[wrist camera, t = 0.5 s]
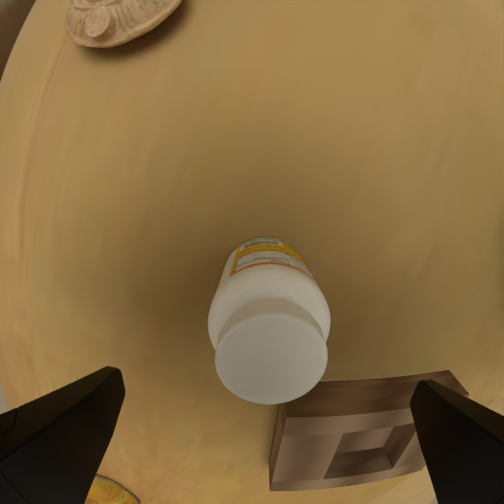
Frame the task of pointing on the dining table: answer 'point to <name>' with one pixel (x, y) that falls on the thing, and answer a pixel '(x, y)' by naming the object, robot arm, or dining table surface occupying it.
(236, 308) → the supplement bottle
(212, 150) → the dining table surface
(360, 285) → the dining table surface
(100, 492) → the bread roll
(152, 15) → the pottery oil lamp
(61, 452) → the robot arm
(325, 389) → the walnut holder
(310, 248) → the dining table surface
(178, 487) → the dining table surface
